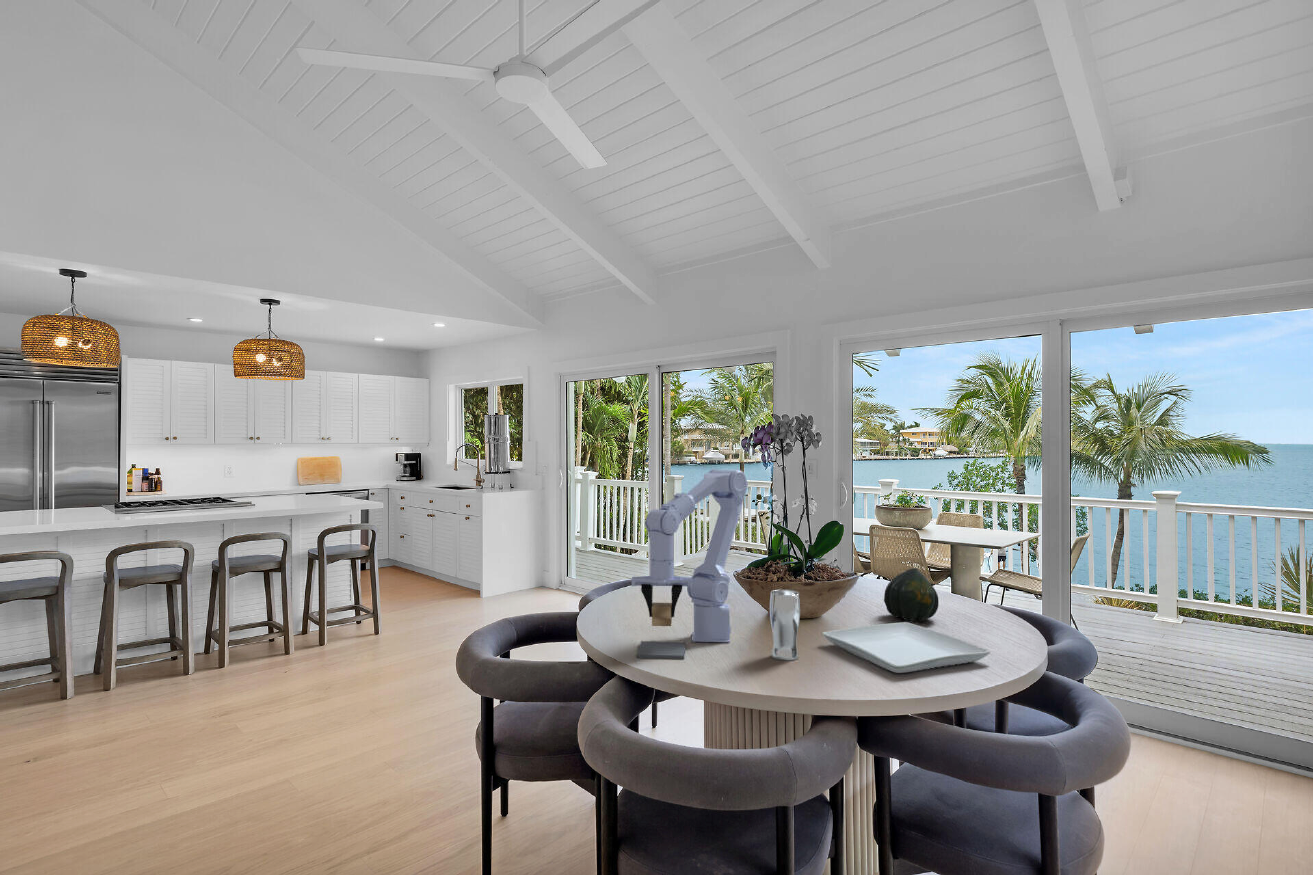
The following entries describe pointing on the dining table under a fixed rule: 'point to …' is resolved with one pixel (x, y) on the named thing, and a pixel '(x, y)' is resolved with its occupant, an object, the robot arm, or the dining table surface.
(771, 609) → the beer glass
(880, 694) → the dining table surface
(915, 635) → the square plate
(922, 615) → the squash
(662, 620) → the oak cube
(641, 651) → the charcoal mat
